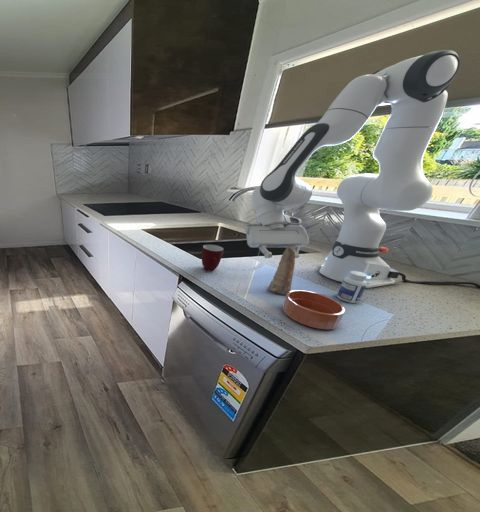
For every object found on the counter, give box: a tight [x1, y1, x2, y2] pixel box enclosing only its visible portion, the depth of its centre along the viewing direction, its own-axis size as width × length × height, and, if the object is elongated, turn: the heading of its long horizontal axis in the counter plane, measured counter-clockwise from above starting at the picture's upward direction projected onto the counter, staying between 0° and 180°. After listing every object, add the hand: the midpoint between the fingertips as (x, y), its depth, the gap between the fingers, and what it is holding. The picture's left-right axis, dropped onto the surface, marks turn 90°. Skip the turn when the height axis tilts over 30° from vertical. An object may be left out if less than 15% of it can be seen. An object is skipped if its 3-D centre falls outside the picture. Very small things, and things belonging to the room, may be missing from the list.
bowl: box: [281, 289, 346, 330], centre depth 73 cm, size 13×13×6 cm
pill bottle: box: [336, 271, 367, 304], centre depth 81 cm, size 5×5×10 cm
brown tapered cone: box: [268, 246, 296, 296], centre depth 84 cm, size 6×18×6 cm
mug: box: [201, 244, 225, 272], centre depth 102 cm, size 10×8×10 cm
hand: (282, 257), depth 86 cm, fingers open, 8 cm apart
